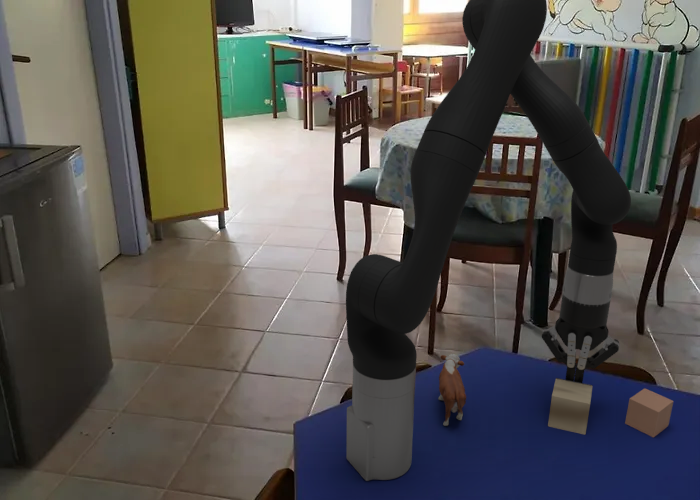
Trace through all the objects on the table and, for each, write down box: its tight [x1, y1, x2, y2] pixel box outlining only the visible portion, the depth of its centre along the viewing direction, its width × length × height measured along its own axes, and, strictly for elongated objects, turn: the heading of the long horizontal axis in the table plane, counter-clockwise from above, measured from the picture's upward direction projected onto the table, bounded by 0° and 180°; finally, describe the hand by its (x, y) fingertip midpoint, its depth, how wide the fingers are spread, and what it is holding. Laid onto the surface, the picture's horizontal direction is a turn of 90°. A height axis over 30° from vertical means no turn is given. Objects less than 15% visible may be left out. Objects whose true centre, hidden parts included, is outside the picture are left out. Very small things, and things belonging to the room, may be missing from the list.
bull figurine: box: [438, 353, 467, 427], centre depth 116 cm, size 4×13×8 cm, turn 174°
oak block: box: [547, 377, 593, 435], centre depth 113 cm, size 6×6×6 cm
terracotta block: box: [624, 387, 674, 438], centre depth 113 cm, size 5×5×5 cm
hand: (573, 384), depth 117 cm, fingers closed
